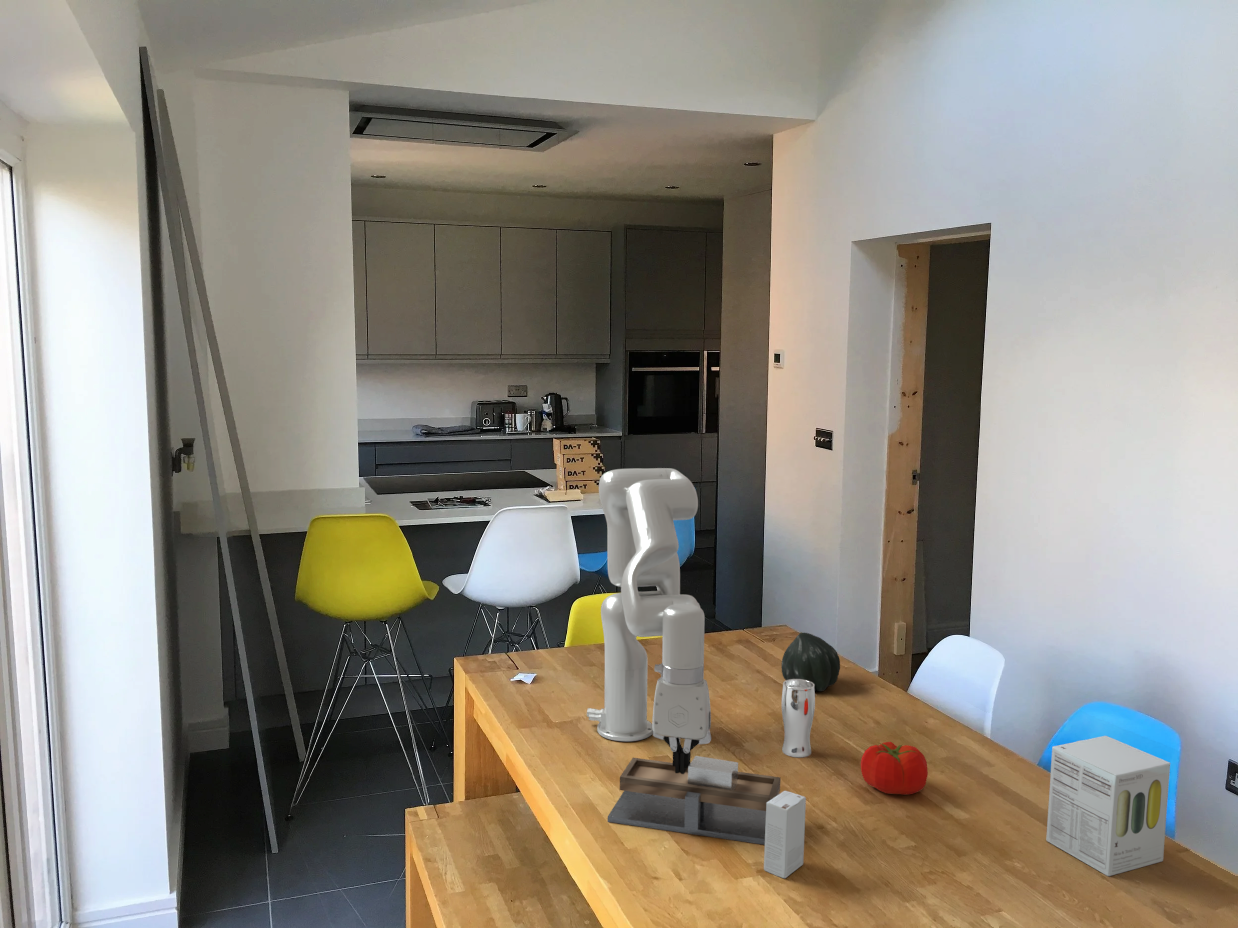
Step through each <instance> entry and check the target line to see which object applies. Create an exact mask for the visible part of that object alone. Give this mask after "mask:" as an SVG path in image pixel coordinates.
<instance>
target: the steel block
mask: <svg viewBox="0 0 1238 928" xmlns="http://www.w3.org/2000/svg"><path fill="white" fill-rule="evenodd" d="M691 760H692V761H690V765H689V766H688V784H692V785H699V786H706V787H713V788H720V789H728V790H734V789H735V787H736V785H737V783H738V772H739V762H736V761H731V760H725V759H718V758H713V757H706V756H699V755H695V756H694V757H693V759H691Z"/></svg>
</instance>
